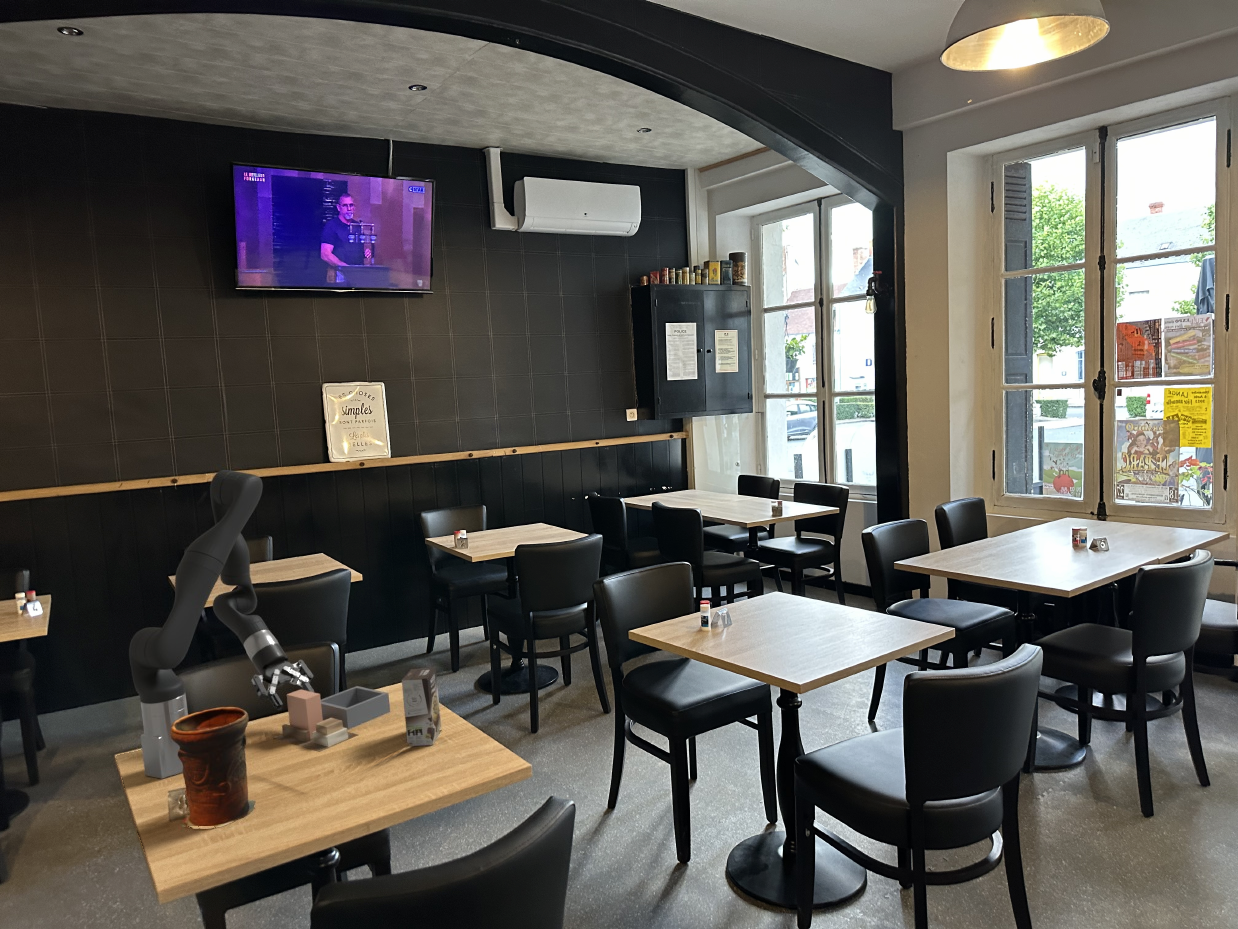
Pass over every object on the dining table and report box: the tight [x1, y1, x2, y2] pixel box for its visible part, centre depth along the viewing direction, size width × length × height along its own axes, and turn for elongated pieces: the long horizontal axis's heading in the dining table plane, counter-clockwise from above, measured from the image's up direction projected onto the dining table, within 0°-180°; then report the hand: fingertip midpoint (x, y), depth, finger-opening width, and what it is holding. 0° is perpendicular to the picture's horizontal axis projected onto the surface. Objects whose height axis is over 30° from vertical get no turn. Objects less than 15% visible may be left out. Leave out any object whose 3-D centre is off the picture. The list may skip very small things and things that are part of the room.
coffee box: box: [401, 666, 443, 747], centre depth 207 cm, size 9×6×16 cm
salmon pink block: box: [286, 689, 323, 739], centre depth 214 cm, size 8×4×10 cm, turn 54°
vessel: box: [170, 706, 256, 829], centre depth 176 cm, size 14×14×20 cm
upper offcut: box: [316, 718, 343, 735], centre depth 208 cm, size 4×4×2 cm
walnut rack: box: [273, 720, 359, 753], centre depth 212 cm, size 19×11×4 cm, turn 54°
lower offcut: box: [312, 727, 349, 748], centre depth 208 cm, size 6×6×2 cm
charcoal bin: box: [321, 685, 391, 731], centre depth 224 cm, size 13×13×6 cm
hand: (296, 702), depth 216 cm, fingers open, 8 cm apart
